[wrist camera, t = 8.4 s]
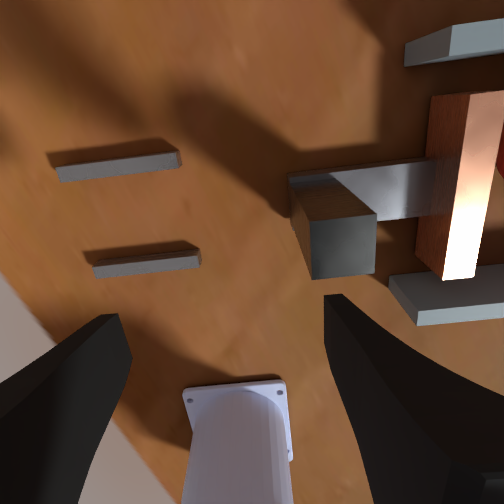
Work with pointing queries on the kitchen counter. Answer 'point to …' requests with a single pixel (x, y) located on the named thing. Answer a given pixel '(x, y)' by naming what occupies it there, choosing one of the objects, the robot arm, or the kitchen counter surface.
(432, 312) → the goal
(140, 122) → the kitchen counter surface
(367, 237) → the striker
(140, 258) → the rail
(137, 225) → the kitchen counter surface
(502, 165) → the onion
